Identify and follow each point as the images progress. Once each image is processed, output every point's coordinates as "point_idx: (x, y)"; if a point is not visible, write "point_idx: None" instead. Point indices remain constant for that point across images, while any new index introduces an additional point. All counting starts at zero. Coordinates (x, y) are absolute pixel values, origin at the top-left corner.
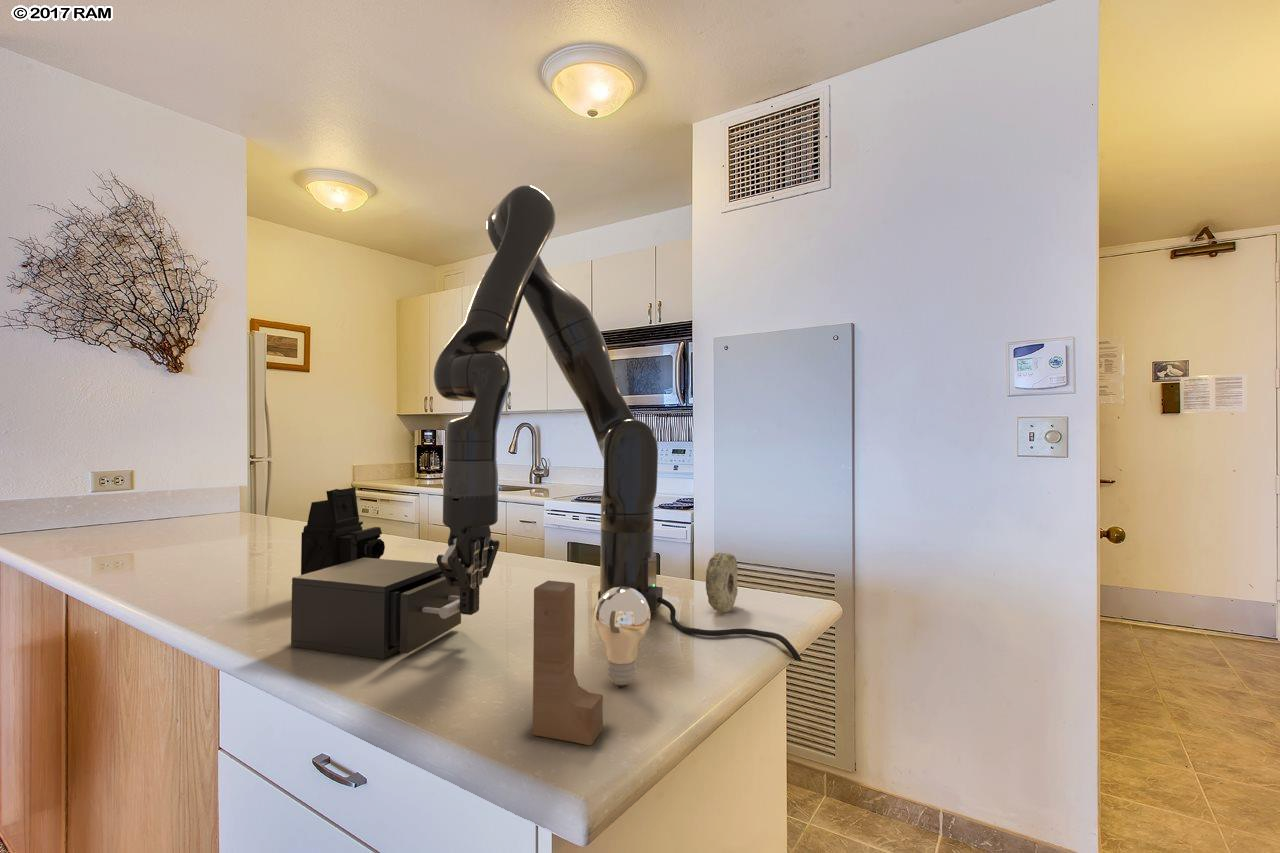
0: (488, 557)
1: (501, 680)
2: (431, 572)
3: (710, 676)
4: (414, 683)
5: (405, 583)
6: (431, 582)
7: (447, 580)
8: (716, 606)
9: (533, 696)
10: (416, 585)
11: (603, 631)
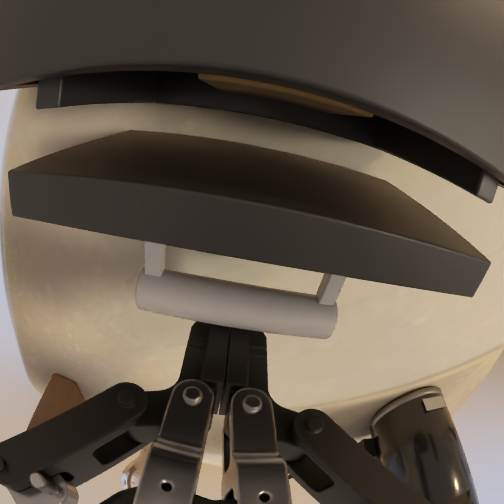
0: (324, 500)
1: (121, 345)
2: (464, 155)
3: (206, 457)
4: (61, 228)
5: (132, 70)
6: (265, 221)
7: (86, 402)
8: None
9: (41, 398)
10: None
11: (124, 469)
